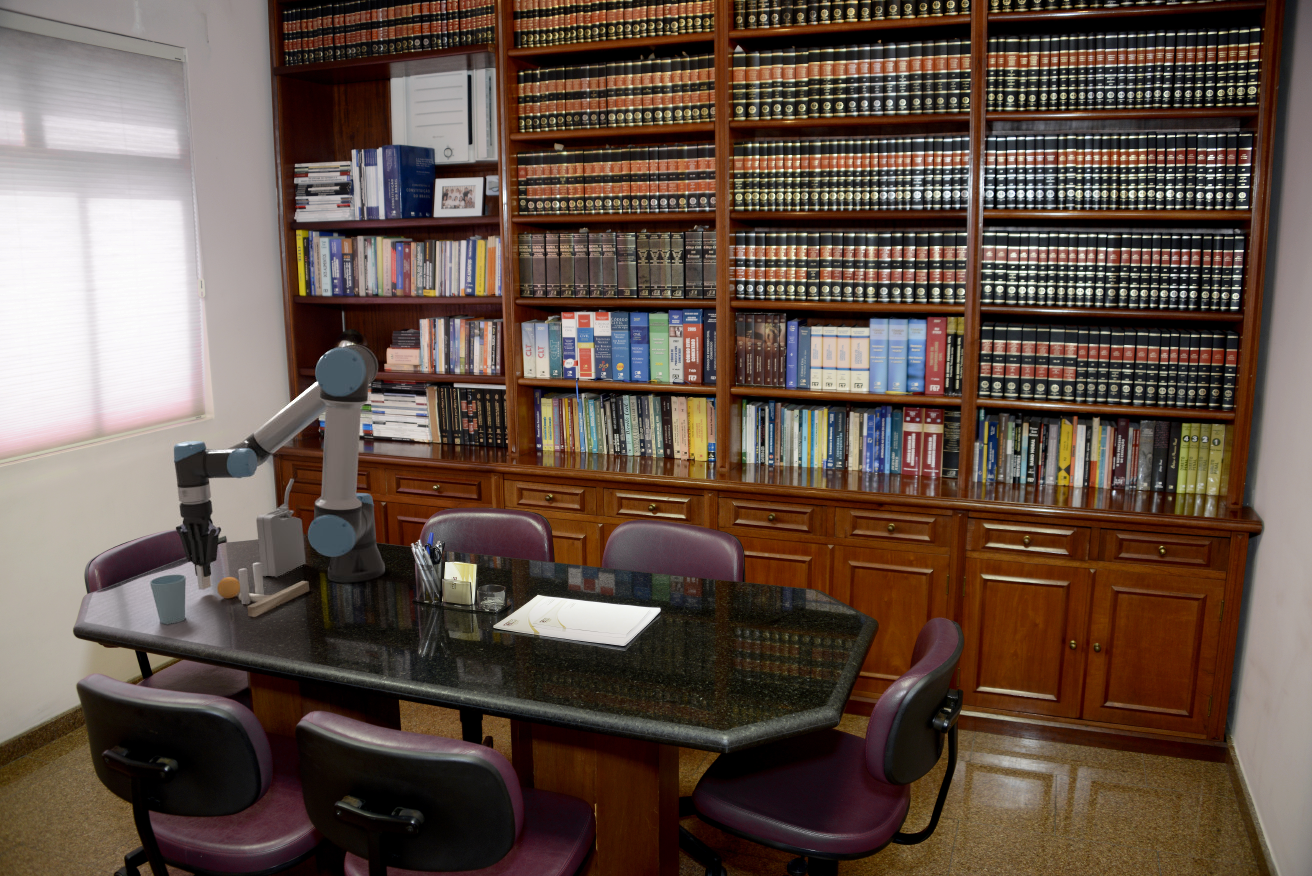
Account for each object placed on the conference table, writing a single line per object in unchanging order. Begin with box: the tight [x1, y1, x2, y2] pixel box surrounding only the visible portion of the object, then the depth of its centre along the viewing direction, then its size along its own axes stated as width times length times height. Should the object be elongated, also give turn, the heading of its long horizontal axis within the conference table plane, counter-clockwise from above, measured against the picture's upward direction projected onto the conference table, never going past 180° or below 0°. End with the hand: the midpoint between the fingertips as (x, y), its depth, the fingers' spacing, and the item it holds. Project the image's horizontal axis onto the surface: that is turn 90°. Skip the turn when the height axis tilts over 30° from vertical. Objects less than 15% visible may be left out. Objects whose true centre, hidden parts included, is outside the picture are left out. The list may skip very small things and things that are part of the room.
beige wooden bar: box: [247, 580, 310, 618], centre depth 237 cm, size 2×20×2 cm, turn 162°
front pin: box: [238, 592, 272, 603], centre depth 239 cm, size 2×2×9 cm
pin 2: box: [252, 562, 265, 595], centre depth 242 cm, size 2×2×9 cm
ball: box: [216, 576, 241, 599], centre depth 242 cm, size 6×6×6 cm
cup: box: [149, 574, 187, 625], centre depth 226 cm, size 8×8×10 cm
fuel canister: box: [256, 478, 306, 578], centre depth 264 cm, size 15×5×25 cm, turn 163°
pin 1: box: [237, 568, 251, 605], centre depth 237 cm, size 2×2×9 cm
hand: (204, 587), depth 245 cm, fingers closed
